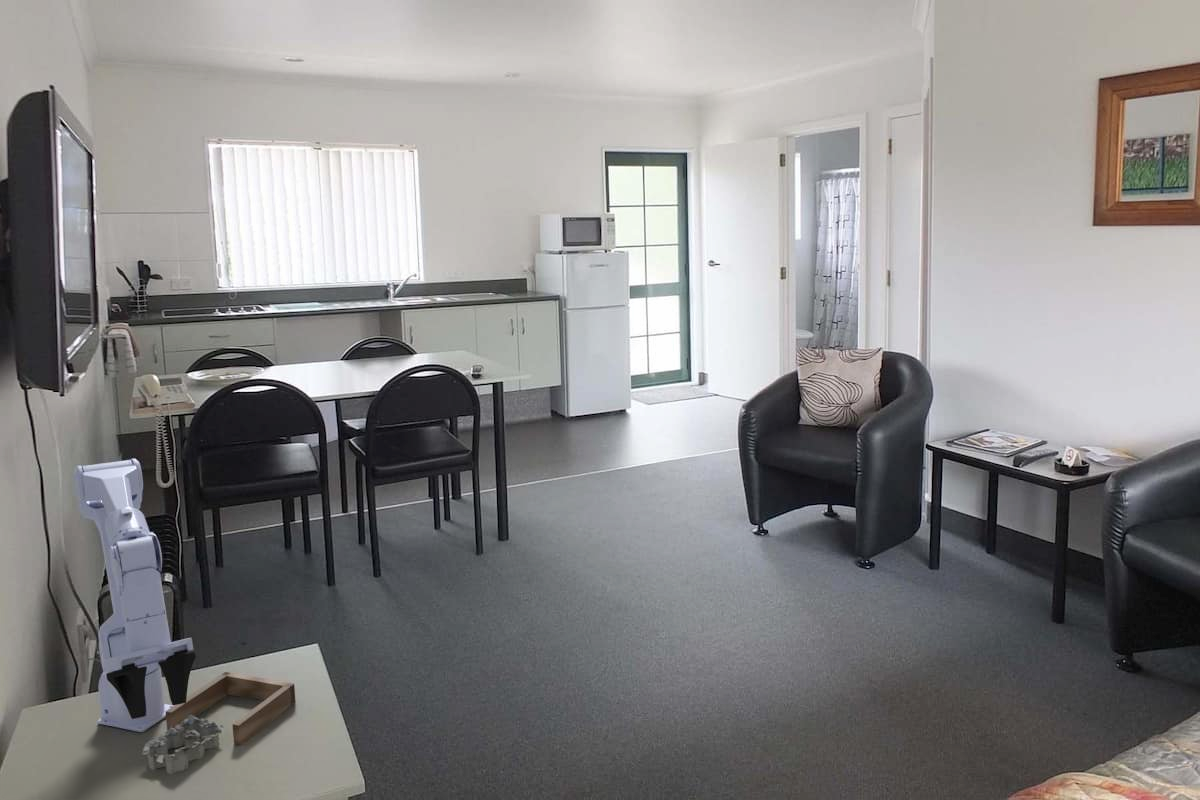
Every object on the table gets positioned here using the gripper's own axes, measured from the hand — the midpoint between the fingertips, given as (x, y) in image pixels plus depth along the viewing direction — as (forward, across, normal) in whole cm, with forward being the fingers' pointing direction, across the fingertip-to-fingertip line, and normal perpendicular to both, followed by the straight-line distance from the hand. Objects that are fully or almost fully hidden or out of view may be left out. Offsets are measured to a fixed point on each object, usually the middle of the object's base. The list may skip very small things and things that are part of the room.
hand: (159, 710), depth 134 cm
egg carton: (+9, +10, +6) cm, 14 cm away
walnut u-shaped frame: (+5, +21, +6) cm, 22 cm away
